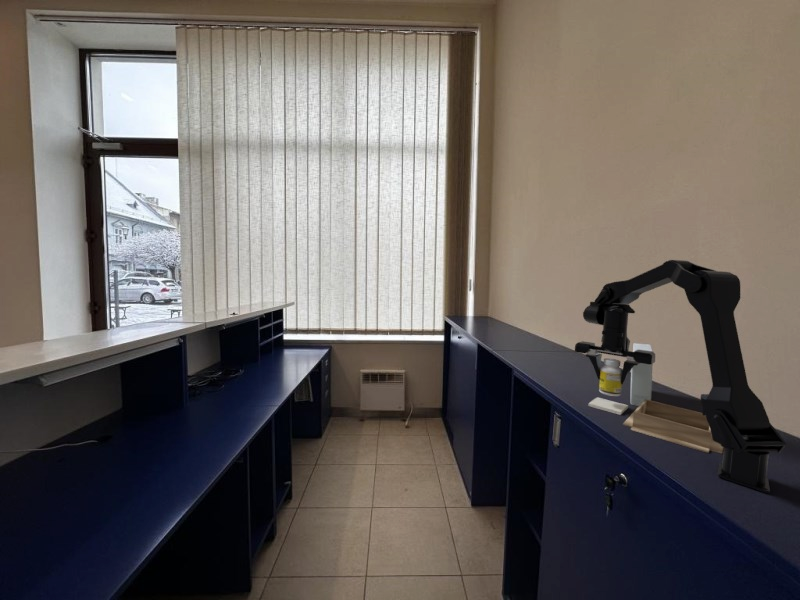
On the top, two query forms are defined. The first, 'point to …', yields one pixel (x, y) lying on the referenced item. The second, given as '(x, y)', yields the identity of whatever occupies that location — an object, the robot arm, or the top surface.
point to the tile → (608, 405)
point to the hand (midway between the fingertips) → (610, 381)
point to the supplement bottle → (610, 378)
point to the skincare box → (641, 379)
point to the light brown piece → (673, 425)
